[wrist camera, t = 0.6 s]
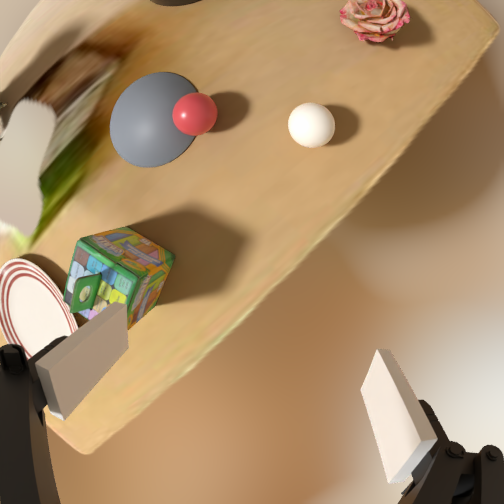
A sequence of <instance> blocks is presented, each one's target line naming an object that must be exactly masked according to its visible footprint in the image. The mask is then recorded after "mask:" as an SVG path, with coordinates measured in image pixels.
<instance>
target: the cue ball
mask: <svg viewBox="0 0 504 504" xmlns="http://www.w3.org/2000/svg"><path fill="white" fill-rule="evenodd" d="M288 128H289V132H290V134H291V136H292V137H293V139H294V140H295V141H296V142H297V143H299V144H300V145H302V146H305V147H308V148H317V147H321V146H323V145H325V144H326V143H328V142H329V141H330V140H331V138H332V136H333V134H334V131H335V121H334V118H333V116H332V114H331V113H330V111H329V110H328V109H327V108H325V107H324V106H322V105H320V104H317V103H304V104H301V105H299V106H298V107H296V108H295V109H294V110H293V111H292V113H291V115H290V117H289V121H288Z"/></svg>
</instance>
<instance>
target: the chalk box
mask: <svg viewBox="0 0 504 504" xmlns="http://www.w3.org/2000/svg"><path fill="white" fill-rule="evenodd" d="M174 259H175V255H174V254H172V253H170V252H169V251H167V250H165V249H164V248H162V247H160V246H159V245H157V244H155V243H154V242H152V241H150V240H148V239H147V238H145V237H143V236H142V235H140V234H138V233H137V232H135V231H133V230H131V229H130V228H128V227H122V228H117V229H113V230H109V231H105V232H101V233H98V234H94V235H90V236H87V237H82V238H80V239H79V240H78V241H77V243H76V247H75V250H74V254H73V257H72V261H71V265H70V269H69V273H68V277H67V282H66V286H65V291H64V297H63V301H64V302H65V303H66V304H68V305H69V306H70V313H76V312H78V313H79V314H81V315H82V316H83V317H85V318H86V319H87V320H91V319H92V318H93V317H95V316H96V315H97V314H99V313H100V312H101V311H103V310H104V309H105V308H107V307H108V306H109V305H111V304H112V303H113V302H119V303H123V304H126V305H127V329H128V330H129V329H130V328H131V327H132V326H133V325H135V324H136V323H137V322H138V321H139V320H140V319H141V318H142V317H144V316H145V315H146V314H147V313H148V312H149V311H150V310H151V309H153V308H154V307H155V305H156V302H157V300H158V297H159V295H160V293H161V290H162V288H163V285H164V283H165V280H166V278H167V276H168V273H169V271H170V269H171V266H172V264H173V261H174Z"/></svg>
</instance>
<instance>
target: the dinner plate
mask: <svg viewBox="0 0 504 504" xmlns="http://www.w3.org/2000/svg"><path fill="white" fill-rule="evenodd" d="M63 297H64V296H63V294H62V293H61V291H60V289H59V288H58V287H57V285H56V284H55V283H54V282H53V280H52V279H51V278H50V277H49V276H48V275H47V274H46V273H45V272H44V271H43V270H42V269H41V268H40V267H38V266H37V265H36V264H34V263H32V262H31V261H28V260H26V259H21V258H15V259H11V260H9V261H7V262H6V263H5V264H4V265H3V266H2V268H1V269H0V327H1V330H2V332H3V335H4V337H5V339H6V341H7V343H8V344H18V345H21V346H22V347H23V348H24V350H25V354H26V357H27V360H28V359H30V358H31V357H32V356H34V355H35V354H36V353H37V352H39V351H40V350H41V349H43V348H44V347H45V346H47V345H49V343H51V342H52V341H53V340H54V339H56V338H59V337H61V336H64V335H65V336H70V335H71V334H72V333H74V332H75V331H76V330H77V329H79V328H78V325H77V323H76V320H75V318H74V315H73V313H70V307H69V305H68V304H66V303H65V302H64V301H63Z"/></svg>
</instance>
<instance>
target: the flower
mask: <svg viewBox="0 0 504 504" xmlns="http://www.w3.org/2000/svg"><path fill="white" fill-rule="evenodd" d="M340 13H341V14H342V15H340V19H341V22H342V24H344V25H345V26H347V27H348V28H350V29H352V30H354V32H355V34H357V35H358V38H359V40H360V41H361V40H363V42H364V40H368V39H370V40H371V41H375V42H383V41H384V40H385V39H387V38H388V37H389V38H391V39H392V41H393V36H394V35H396V34H395V33H396V32H398V31H399V30H400V28H401V26H403V25H404V22H405V23H409V22H410V21H409V18H411V17H410V15H409V12H408V9H407V5H406V4H405V3H404V2H403V1H401V0H349V2H348V3H347V4H346V5H345V6H344V7H343V8H342V9H341V10H340ZM407 18H408V19H407ZM412 19H413V18H412Z"/></svg>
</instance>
